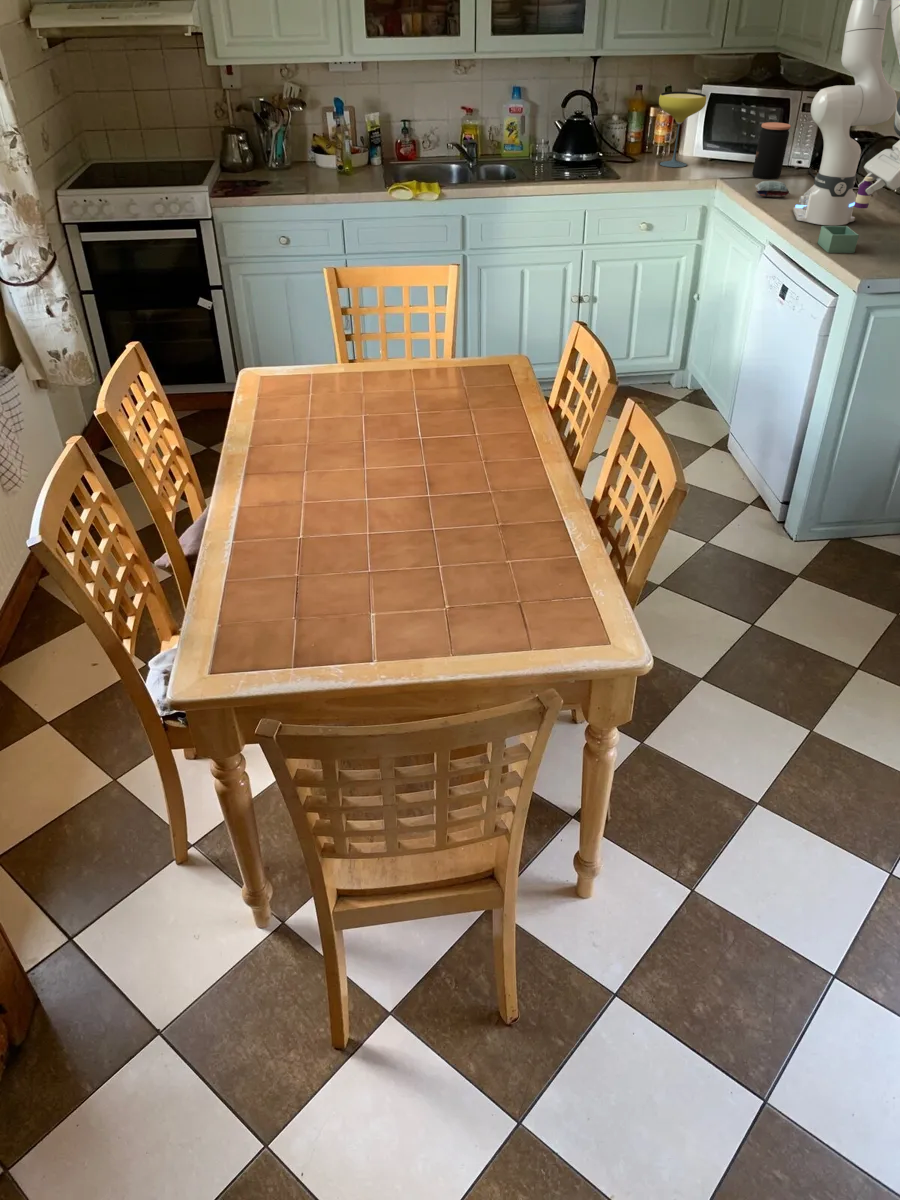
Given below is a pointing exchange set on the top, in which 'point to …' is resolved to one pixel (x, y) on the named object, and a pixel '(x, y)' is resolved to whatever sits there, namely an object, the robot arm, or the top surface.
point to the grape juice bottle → (863, 194)
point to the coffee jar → (771, 150)
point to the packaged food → (772, 189)
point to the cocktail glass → (680, 113)
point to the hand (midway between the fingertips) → (863, 190)
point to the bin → (838, 239)
